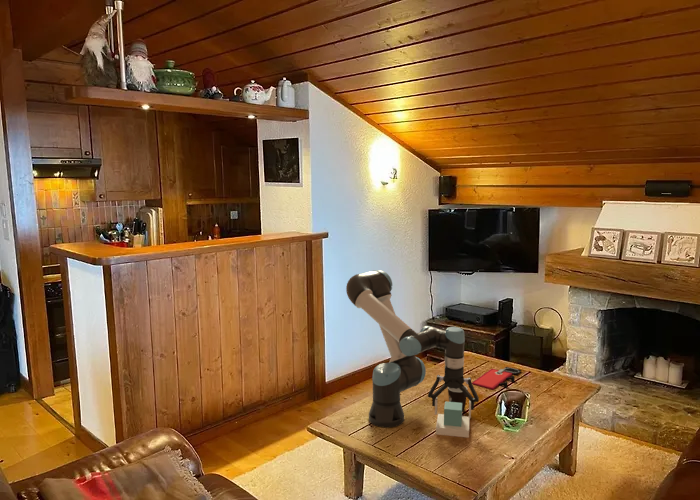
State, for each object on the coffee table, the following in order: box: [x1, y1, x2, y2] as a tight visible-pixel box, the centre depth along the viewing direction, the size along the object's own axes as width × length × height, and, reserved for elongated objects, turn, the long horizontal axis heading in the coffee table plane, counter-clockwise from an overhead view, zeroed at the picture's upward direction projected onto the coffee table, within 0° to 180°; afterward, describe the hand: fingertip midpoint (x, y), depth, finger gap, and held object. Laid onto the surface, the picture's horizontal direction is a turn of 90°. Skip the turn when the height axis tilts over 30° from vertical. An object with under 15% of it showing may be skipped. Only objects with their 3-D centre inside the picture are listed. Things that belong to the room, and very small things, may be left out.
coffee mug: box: [447, 385, 469, 413], centre depth 241 cm, size 12×9×10 cm
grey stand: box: [435, 413, 470, 439], centre depth 223 cm, size 13×12×3 cm
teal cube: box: [443, 401, 463, 427], centre depth 222 cm, size 7×7×7 cm
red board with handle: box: [471, 366, 522, 391], centre depth 273 cm, size 30×3×15 cm
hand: (452, 415), depth 222 cm, fingers open, 13 cm apart
